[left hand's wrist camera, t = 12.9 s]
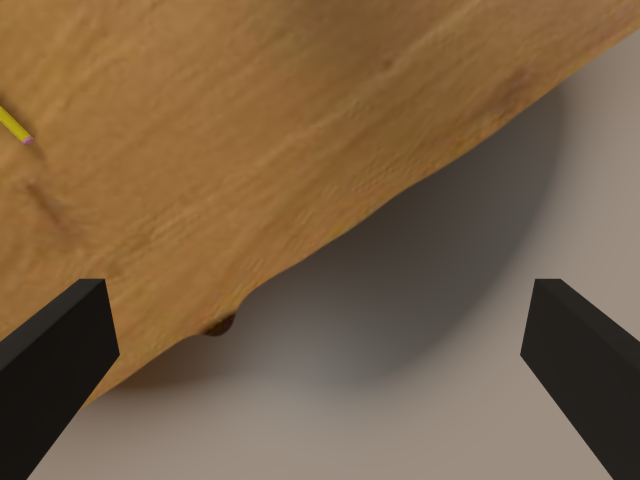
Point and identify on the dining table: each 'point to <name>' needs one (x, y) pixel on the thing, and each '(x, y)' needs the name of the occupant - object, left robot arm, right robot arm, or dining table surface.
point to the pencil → (15, 127)
